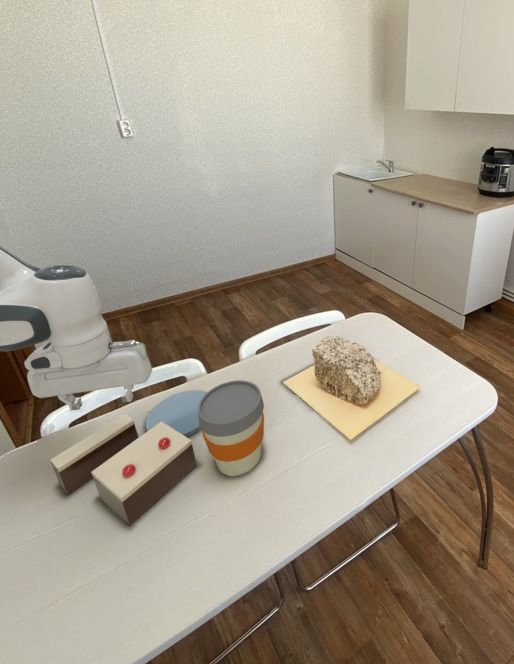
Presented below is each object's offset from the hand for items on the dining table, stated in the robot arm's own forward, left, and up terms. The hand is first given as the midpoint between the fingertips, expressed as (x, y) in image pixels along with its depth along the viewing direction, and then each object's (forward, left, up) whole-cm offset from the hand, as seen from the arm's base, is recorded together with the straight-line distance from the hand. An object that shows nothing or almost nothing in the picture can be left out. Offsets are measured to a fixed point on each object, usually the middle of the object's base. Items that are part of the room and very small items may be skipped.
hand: (102, 404), depth 77 cm
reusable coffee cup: (+23, +13, -14) cm, 30 cm away
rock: (+32, +43, -14) cm, 55 cm away
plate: (+2, +14, -14) cm, 19 cm away
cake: (+12, 0, -14) cm, 18 cm away
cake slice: (0, -3, -14) cm, 14 cm away
